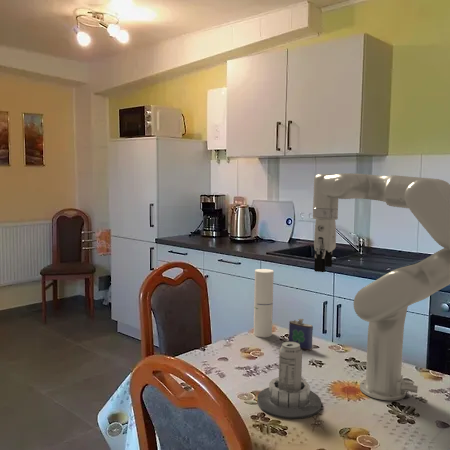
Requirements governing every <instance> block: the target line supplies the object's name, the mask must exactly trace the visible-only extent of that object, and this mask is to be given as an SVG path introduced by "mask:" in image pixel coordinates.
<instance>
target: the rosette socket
mask: <svg viewBox="0 0 450 450" xmlns="http://www.w3.org/2000/svg"><path fill="white" fill-rule="evenodd" d="M310 386H311V385H310V384H309V383H308V382H307V381H306V380H304V379H302V378H301V390H299V391H285V390H281V389H279V376H278V377H276V378H275V377H274V378H273V379H271V380H270V382H269V387H265V388H263V389H262V390H261V391H260V392H258V394H257V397H256V399H257V401H256V402H257V403H256V404H257V406H258V407H259V409H260V410H262V411H263V412H265V413H266V414H268V415H270V416H272V417H277V418H280V419H286V420H301V419H306V418H307V419H308V418H310V417H313V416H315V415H317V414H318V413H320V411H321V409H322V399H321V398H320V396H319V395H318V394H316V393H315V392H314V391H312V390H310V388H311V387H310Z"/></svg>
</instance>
